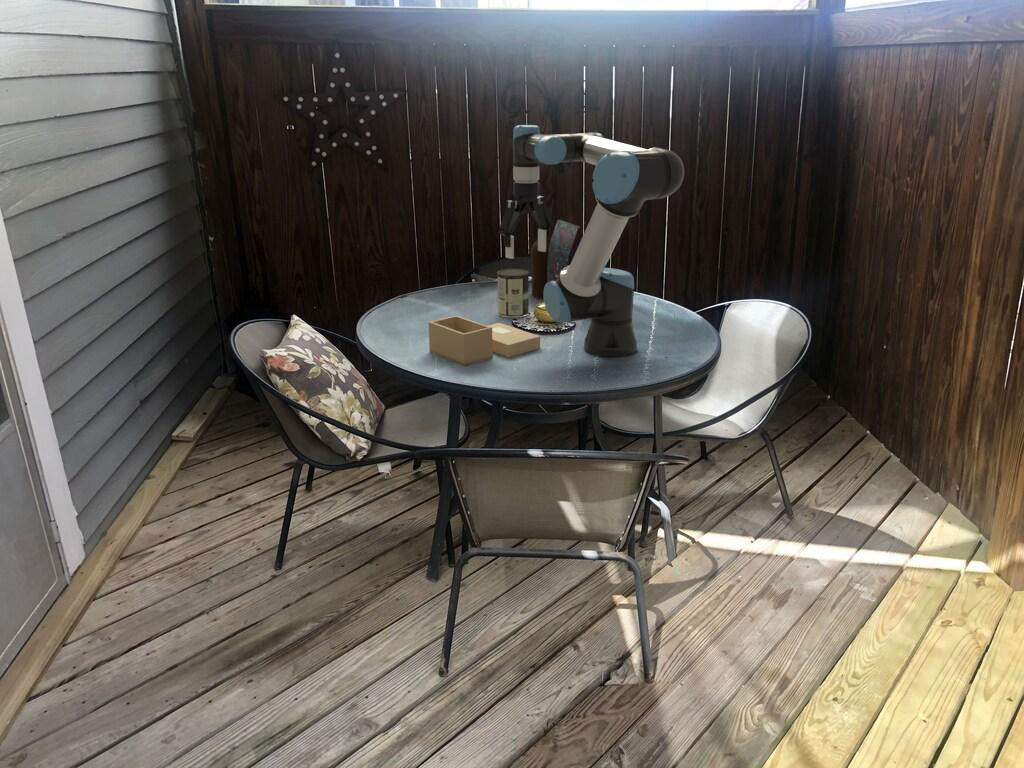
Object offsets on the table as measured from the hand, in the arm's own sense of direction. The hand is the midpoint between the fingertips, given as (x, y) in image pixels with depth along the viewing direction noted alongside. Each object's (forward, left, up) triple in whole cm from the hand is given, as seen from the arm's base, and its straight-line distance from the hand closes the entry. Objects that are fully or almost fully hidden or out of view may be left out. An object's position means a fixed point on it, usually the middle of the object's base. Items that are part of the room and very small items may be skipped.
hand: (526, 254), depth 249 cm
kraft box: (-4, +28, -24) cm, 37 cm away
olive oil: (+29, -36, -24) cm, 52 cm away
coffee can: (+18, -11, -24) cm, 32 cm away
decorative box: (+14, -32, -24) cm, 43 cm away
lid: (-5, +13, -24) cm, 28 cm away
